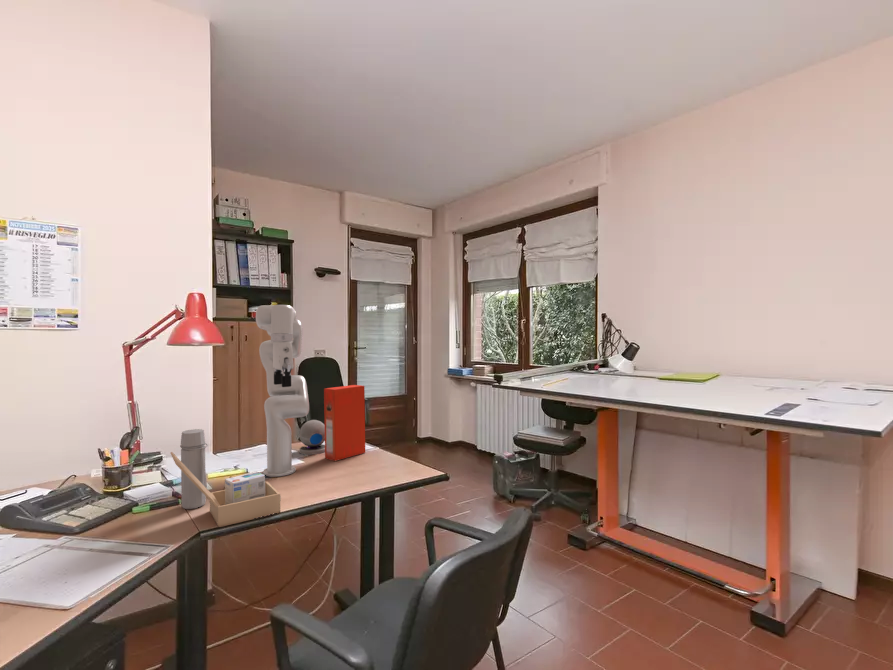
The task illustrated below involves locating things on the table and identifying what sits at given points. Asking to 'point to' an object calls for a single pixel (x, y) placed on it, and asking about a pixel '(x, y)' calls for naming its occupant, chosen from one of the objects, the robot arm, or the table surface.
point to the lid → (193, 479)
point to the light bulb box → (244, 487)
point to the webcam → (312, 437)
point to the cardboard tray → (244, 507)
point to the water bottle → (193, 467)
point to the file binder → (344, 421)
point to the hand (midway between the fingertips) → (282, 385)
